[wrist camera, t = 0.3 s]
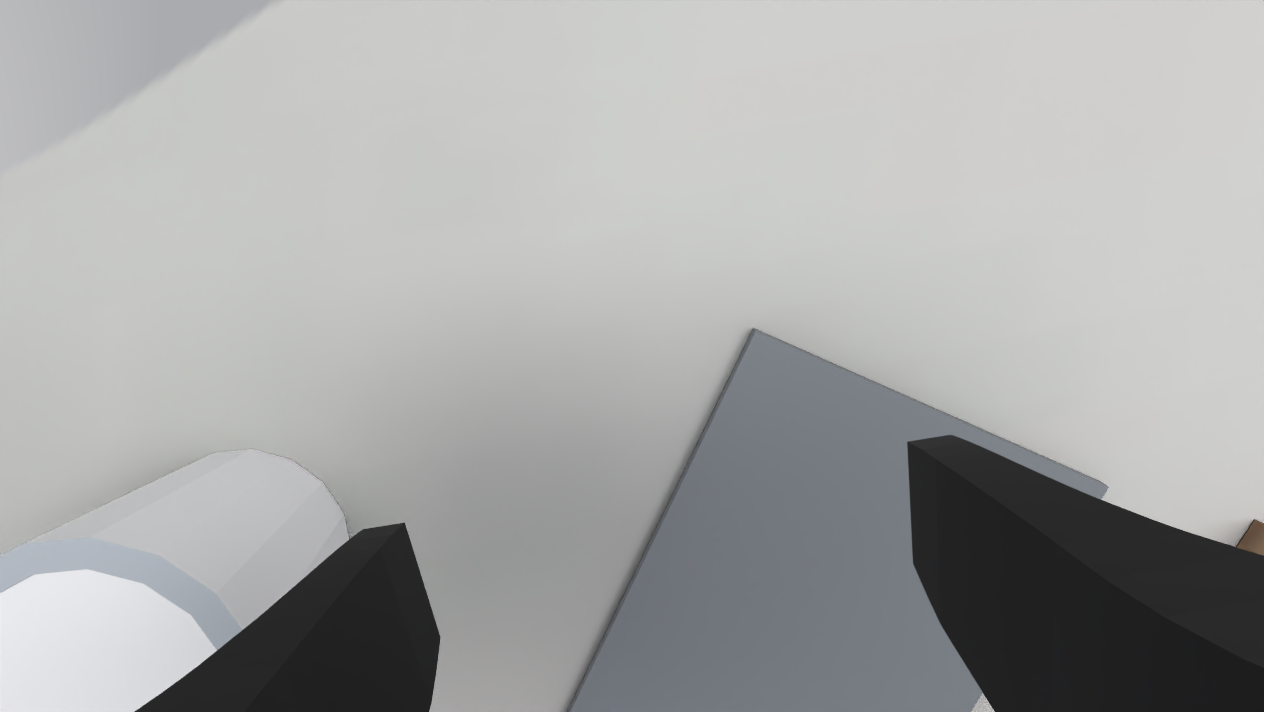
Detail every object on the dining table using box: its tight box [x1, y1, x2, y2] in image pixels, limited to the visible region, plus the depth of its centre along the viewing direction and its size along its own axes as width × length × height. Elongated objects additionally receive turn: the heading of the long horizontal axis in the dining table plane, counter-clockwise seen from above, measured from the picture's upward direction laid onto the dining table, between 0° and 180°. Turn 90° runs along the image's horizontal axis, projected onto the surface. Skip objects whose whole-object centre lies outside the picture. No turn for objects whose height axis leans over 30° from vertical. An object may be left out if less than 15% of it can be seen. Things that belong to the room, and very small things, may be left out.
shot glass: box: [0, 449, 349, 712], centre depth 20 cm, size 7×7×7 cm
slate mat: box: [567, 328, 1109, 712], centre depth 23 cm, size 14×11×1 cm
